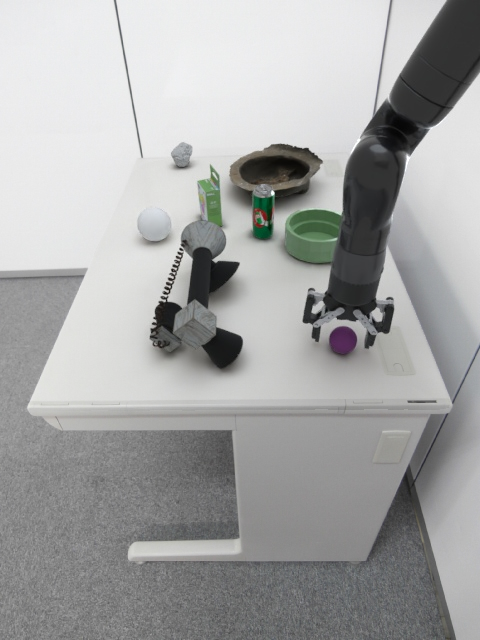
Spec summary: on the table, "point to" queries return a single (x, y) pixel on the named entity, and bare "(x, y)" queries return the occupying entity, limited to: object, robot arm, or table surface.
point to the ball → (154, 223)
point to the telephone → (198, 298)
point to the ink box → (210, 198)
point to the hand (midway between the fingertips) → (341, 342)
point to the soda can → (263, 211)
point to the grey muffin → (182, 154)
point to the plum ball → (343, 339)
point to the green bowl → (312, 234)
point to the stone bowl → (276, 169)
